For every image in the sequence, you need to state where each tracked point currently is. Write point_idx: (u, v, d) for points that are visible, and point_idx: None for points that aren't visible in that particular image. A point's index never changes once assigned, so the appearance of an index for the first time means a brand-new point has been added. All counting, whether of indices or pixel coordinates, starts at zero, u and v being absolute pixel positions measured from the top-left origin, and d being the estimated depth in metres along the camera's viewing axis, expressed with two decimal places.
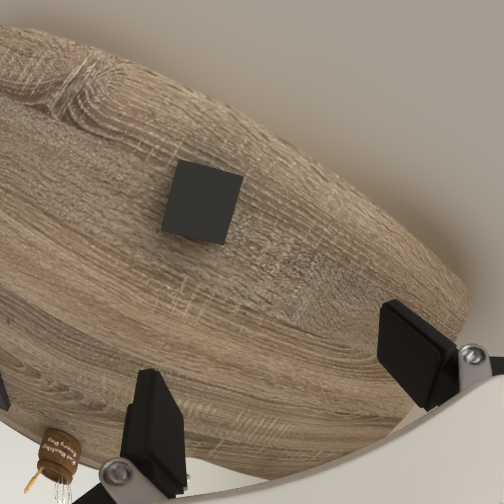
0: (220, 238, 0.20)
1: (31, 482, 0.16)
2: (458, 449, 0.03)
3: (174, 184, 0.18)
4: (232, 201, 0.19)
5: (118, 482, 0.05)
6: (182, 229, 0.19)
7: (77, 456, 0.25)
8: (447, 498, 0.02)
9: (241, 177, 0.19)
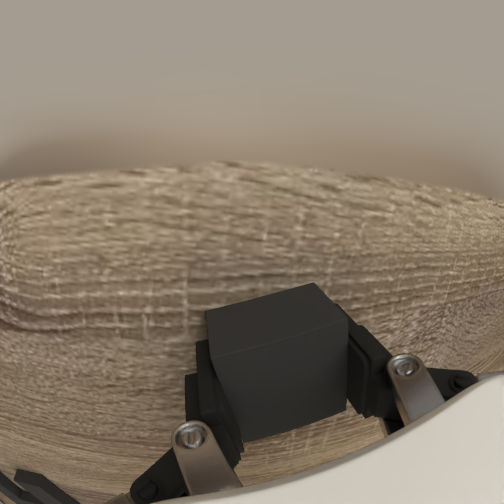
0: (339, 407, 0.10)
1: None
2: (458, 449, 0.03)
3: (227, 393, 0.09)
4: (342, 361, 0.09)
5: (189, 445, 0.06)
6: (275, 429, 0.10)
7: None
8: (447, 498, 0.02)
9: (345, 321, 0.09)
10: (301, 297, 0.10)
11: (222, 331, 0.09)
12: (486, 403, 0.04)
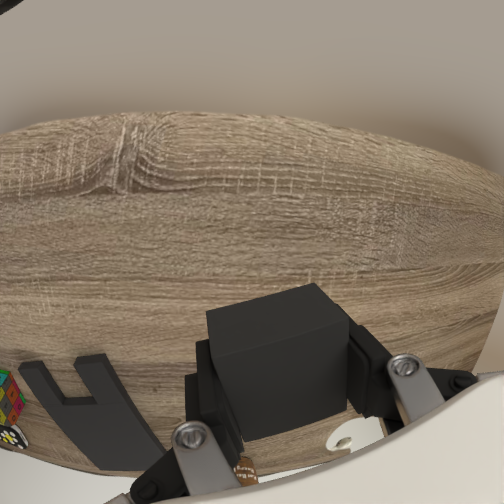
0: (339, 407, 0.10)
1: None
2: (458, 449, 0.03)
3: (228, 393, 0.09)
4: (342, 361, 0.09)
5: (189, 445, 0.06)
6: (276, 429, 0.10)
7: (254, 471, 0.33)
8: (447, 498, 0.02)
9: (345, 321, 0.09)
10: (302, 297, 0.11)
11: (223, 331, 0.09)
12: (486, 403, 0.04)
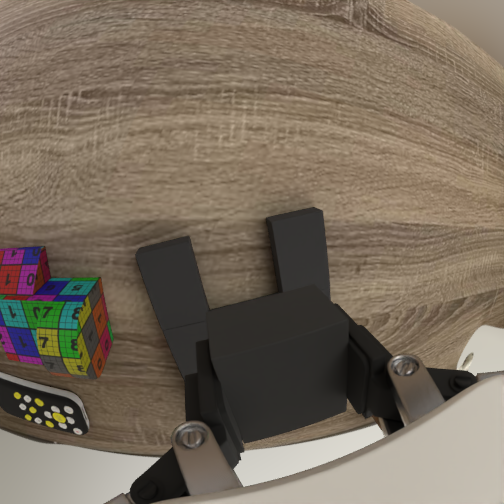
0: (339, 408, 0.10)
1: None
2: (458, 449, 0.03)
3: (227, 394, 0.09)
4: (342, 362, 0.09)
5: (189, 445, 0.06)
6: (276, 429, 0.10)
7: None
8: (447, 498, 0.02)
9: (345, 322, 0.09)
10: (301, 298, 0.10)
11: (222, 332, 0.09)
12: (486, 403, 0.04)
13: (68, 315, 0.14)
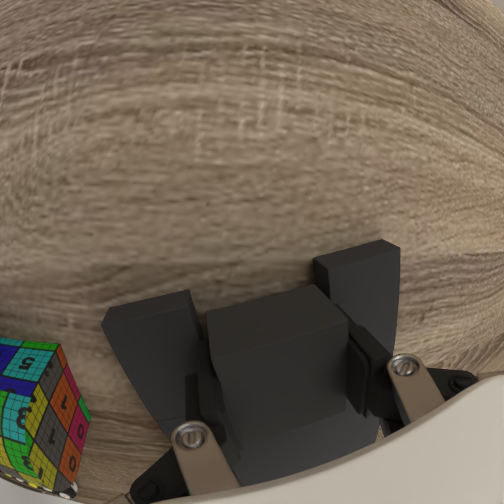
0: (339, 408, 0.10)
1: None
2: (458, 449, 0.03)
3: (227, 394, 0.09)
4: (342, 362, 0.09)
5: (189, 445, 0.06)
6: (276, 429, 0.10)
7: None
8: (447, 498, 0.02)
9: (345, 322, 0.09)
10: (301, 298, 0.11)
11: (222, 332, 0.09)
12: (486, 403, 0.04)
13: (12, 419, 0.06)
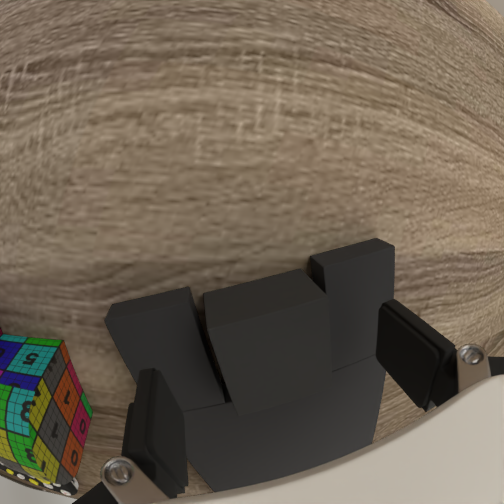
0: (325, 383, 0.12)
1: None
2: (458, 449, 0.03)
3: (222, 364, 0.10)
4: (325, 337, 0.11)
5: (119, 481, 0.05)
6: (266, 402, 0.11)
7: None
8: (447, 498, 0.02)
9: (325, 299, 0.10)
10: (288, 280, 0.12)
11: (218, 308, 0.11)
12: (486, 403, 0.04)
13: (16, 412, 0.07)
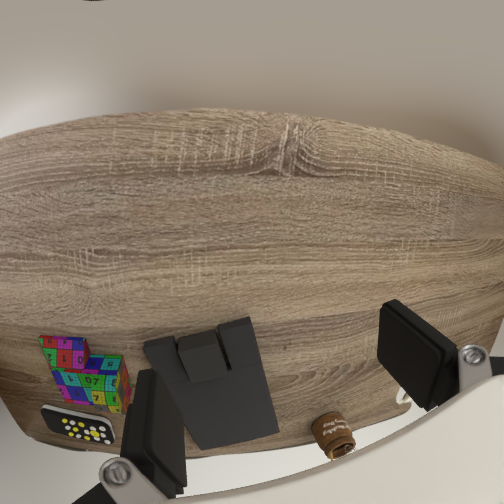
0: (224, 373, 0.31)
1: None
2: (458, 449, 0.03)
3: (183, 363, 0.30)
4: (219, 356, 0.30)
5: (118, 482, 0.05)
6: (202, 379, 0.31)
7: None
8: (447, 498, 0.02)
9: (216, 344, 0.30)
10: (208, 334, 0.32)
11: (182, 344, 0.30)
12: (486, 403, 0.04)
13: (109, 384, 0.26)
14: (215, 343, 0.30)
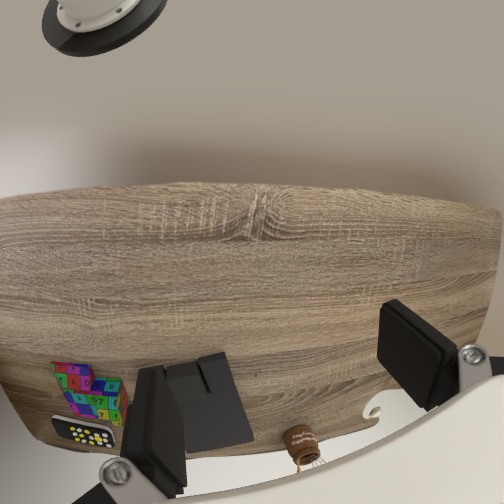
0: (204, 396, 0.37)
1: None
2: (458, 449, 0.03)
3: (171, 388, 0.35)
4: (199, 383, 0.36)
5: (118, 482, 0.05)
6: (186, 400, 0.36)
7: None
8: (447, 498, 0.02)
9: (196, 375, 0.35)
10: (190, 366, 0.37)
11: (169, 373, 0.36)
12: (486, 403, 0.04)
13: (112, 403, 0.32)
14: (195, 374, 0.35)
